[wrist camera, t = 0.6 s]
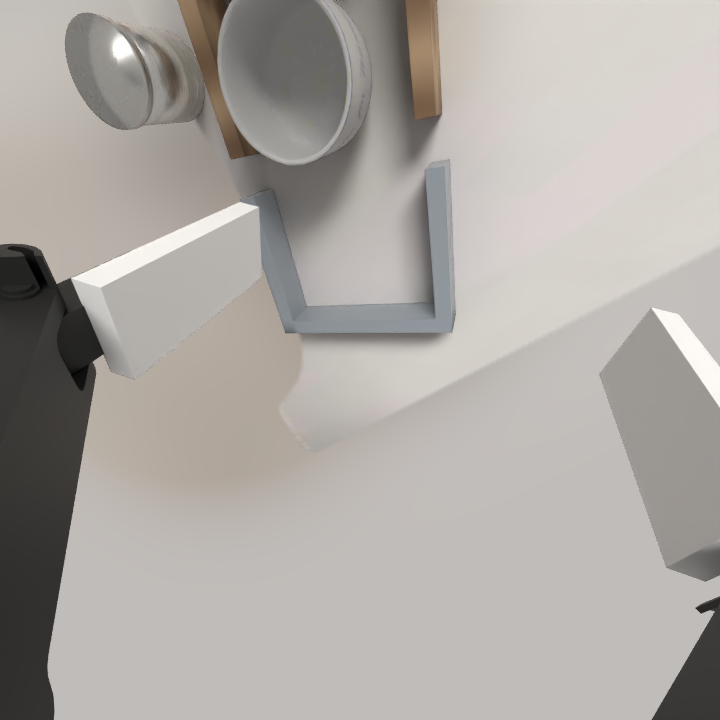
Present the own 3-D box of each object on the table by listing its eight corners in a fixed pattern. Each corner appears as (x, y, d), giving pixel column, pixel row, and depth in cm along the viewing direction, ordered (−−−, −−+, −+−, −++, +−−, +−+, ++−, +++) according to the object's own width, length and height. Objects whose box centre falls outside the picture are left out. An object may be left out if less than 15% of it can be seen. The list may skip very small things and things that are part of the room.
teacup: (366, 168, 34) (337, 183, 28) (264, 136, 35) (215, 145, 29) (408, -44, 25) (379, -89, 19) (271, -77, 26) (203, -129, 20)
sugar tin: (126, 40, 34) (47, 29, 28) (185, 16, 32) (112, -2, 26) (163, 130, 38) (101, 137, 32) (218, 115, 36) (161, 120, 30)
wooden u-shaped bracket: (194, -40, 29) (158, -56, 26) (429, -152, 22) (419, -191, 19) (253, 154, 37) (230, 159, 34) (442, 113, 30) (435, 115, 27)
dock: (260, 191, 39) (240, 199, 36) (449, 159, 32) (444, 166, 29) (299, 317, 47) (285, 333, 44) (455, 314, 40) (452, 332, 37)
